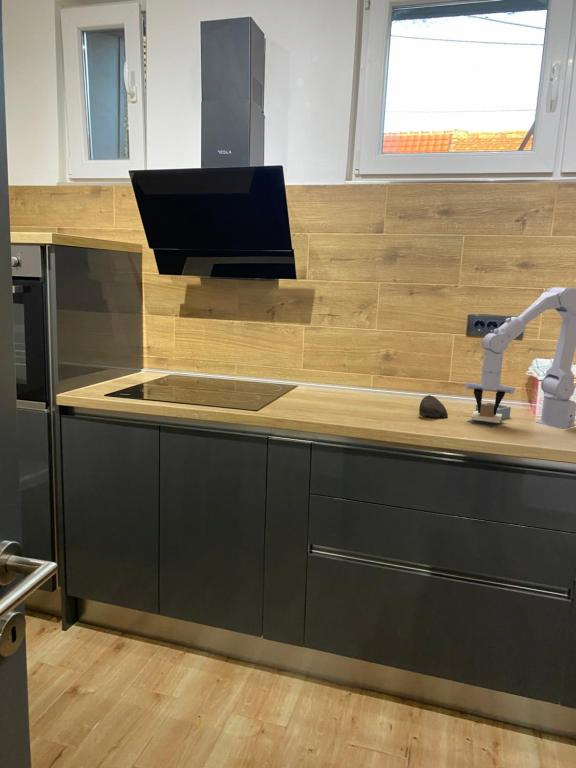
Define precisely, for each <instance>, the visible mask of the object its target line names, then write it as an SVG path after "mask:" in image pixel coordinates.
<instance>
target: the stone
mask: <svg viewBox="0 0 576 768" xmlns="http://www.w3.org/2000/svg"><path fill="white" fill-rule="evenodd" d="M418 410H419V411H418V413H419V416H420V417H422V418H424V419H425V418H426V419H427V418H436V419H437V418H444V419H447V418H449V417H448V415H449V414H448V412H447V411H448V410H447V409H446V407H445V405H444V404H443V403H442V402H441V401H440V400H439V398H436V397H435V396H434V395H430V394H429V395H425V396H424V397H422V399H421V401H420V404H419V409H418Z"/></svg>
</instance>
